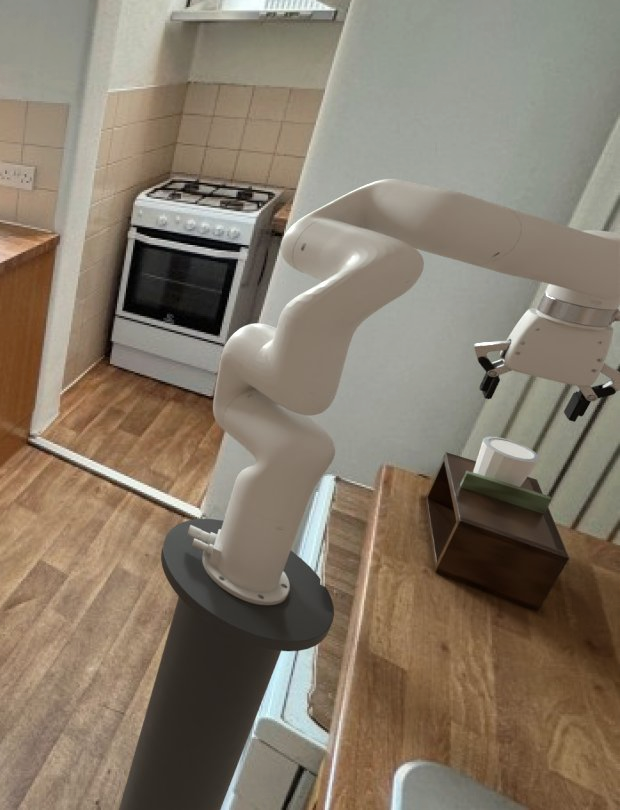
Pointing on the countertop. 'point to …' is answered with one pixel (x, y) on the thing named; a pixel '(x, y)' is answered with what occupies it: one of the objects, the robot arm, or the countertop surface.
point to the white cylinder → (505, 460)
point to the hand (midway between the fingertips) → (526, 406)
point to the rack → (493, 533)
